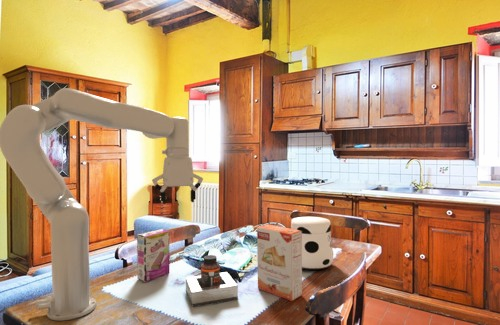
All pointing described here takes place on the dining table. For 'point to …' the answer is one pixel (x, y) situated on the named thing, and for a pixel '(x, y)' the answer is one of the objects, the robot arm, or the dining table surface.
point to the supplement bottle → (210, 272)
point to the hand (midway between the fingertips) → (178, 202)
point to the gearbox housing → (211, 291)
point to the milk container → (314, 242)
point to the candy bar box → (152, 255)
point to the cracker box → (280, 261)
